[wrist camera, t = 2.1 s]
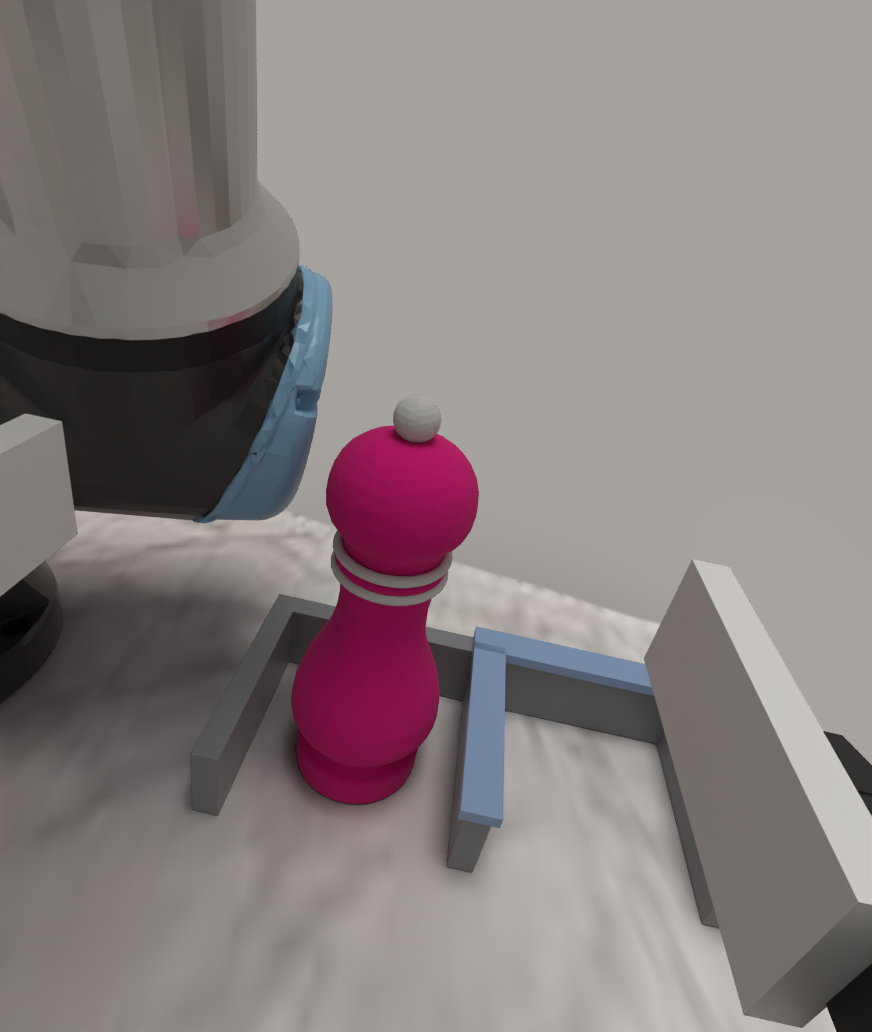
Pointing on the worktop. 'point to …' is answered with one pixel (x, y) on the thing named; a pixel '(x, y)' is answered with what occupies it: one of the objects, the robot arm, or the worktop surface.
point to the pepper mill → (382, 605)
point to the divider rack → (485, 694)
